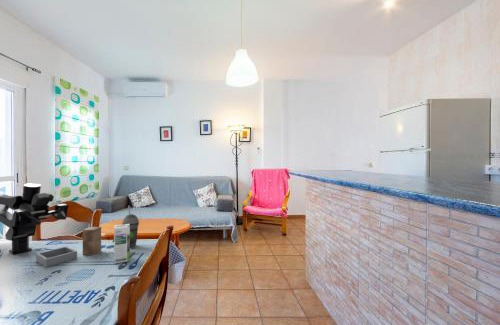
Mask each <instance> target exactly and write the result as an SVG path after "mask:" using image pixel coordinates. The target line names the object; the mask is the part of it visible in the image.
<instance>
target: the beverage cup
mask: <svg viewBox="0 0 500 325" xmlns="http://www.w3.org/2000/svg"><path fill="white" fill-rule="evenodd" d="M127 209H128V214H127V215H126V216H125V217H124V218H123V220H122V224H121V225H125V224H129V226H130V232H131V233H132V234H133V235H134V236H132V237H130V249H134V248H136V247H137V240H138V228H139V226H140V225H139V224H140V220H139V218H138V216H137V215H135V214H131V211H130V210H131V208H130V205H127Z"/></svg>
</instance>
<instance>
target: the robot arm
mask: <svg viewBox="0 0 500 325" xmlns="http://www.w3.org/2000/svg"><path fill="white" fill-rule="evenodd" d="M41 190H42V185H41V184H40V183H31V182H29V183H24V184H23V186H22V194H21V195H8V194H0V223H1V224H3V225H4V226H6V227H7V228H8V229H7V231H6V232H5V235H4V236H5V240H7V241H11V249H9V250H8V252H9V253H10V254H12V255H16V254H21V253H24V252H29V251H32V250H33V249H32V248H31V247H30V237H33V236H35V235H36V230H37V226H40V225H41V224H42V223H41V220H46V219H47V218H50V217H54V218H55V220H60V221H61V220H63V221H65V220H67V216H68V211H69V205H68V204H66V203H58V204H56V205H54V209H53V210H49V209H50V205H49V203H51V202H53V200H54V197H55V196H54V194H52V193H49V192H48V193H47V192H41ZM9 209H11V210H13V213H11V212H9Z"/></svg>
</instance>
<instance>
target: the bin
mask: <svg viewBox="0 0 500 325" xmlns="http://www.w3.org/2000/svg"><path fill="white" fill-rule="evenodd" d="M75 259H78V251H77V250H76V249H73V248H72V247H69V246H67V245H65V246H62V247H58V248H53V249H49V250H46V251H40V252H37V253H36V254H35V261H36V262H37V263H38V264H40V265H42V266H43V267H44V268H47V267H52V266H54V265H59V264H62V263H66V262H69V261H72V260H75Z"/></svg>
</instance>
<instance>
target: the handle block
mask: <svg viewBox="0 0 500 325" xmlns="http://www.w3.org/2000/svg"><path fill="white" fill-rule="evenodd" d="M100 252H102V226H89V227H87V228H84V229H82V256H95V255H96V253H97V254H98V253H100Z"/></svg>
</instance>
